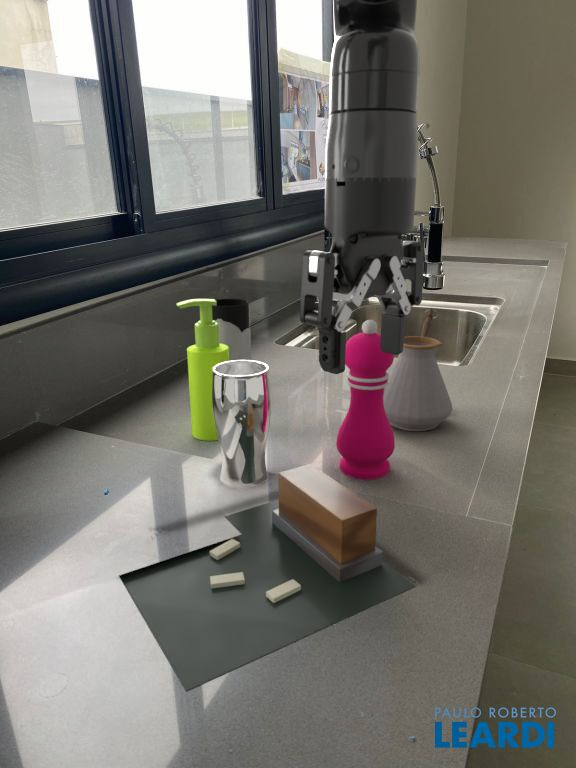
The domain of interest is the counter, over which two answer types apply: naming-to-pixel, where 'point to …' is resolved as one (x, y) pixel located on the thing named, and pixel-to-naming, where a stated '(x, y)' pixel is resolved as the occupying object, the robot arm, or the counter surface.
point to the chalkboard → (246, 599)
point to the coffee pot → (417, 385)
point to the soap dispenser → (203, 368)
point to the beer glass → (242, 420)
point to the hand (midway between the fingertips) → (363, 361)
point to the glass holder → (234, 327)
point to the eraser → (327, 522)
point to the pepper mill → (366, 408)
